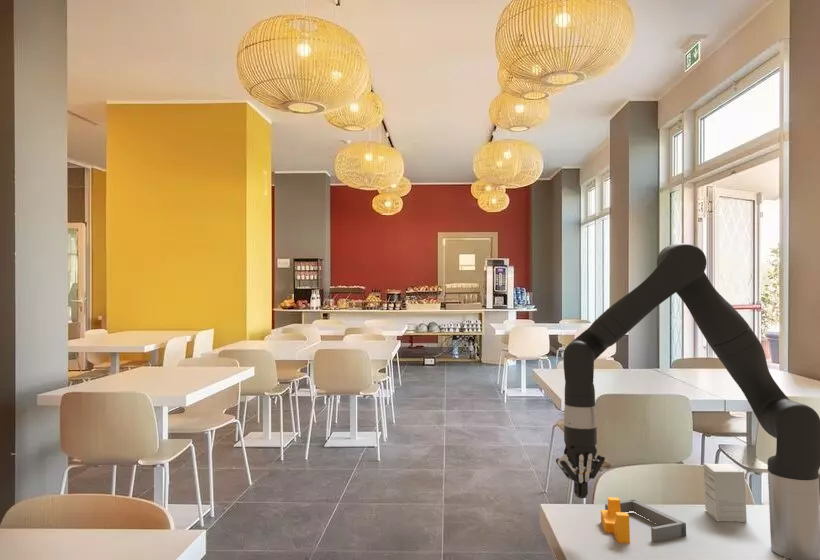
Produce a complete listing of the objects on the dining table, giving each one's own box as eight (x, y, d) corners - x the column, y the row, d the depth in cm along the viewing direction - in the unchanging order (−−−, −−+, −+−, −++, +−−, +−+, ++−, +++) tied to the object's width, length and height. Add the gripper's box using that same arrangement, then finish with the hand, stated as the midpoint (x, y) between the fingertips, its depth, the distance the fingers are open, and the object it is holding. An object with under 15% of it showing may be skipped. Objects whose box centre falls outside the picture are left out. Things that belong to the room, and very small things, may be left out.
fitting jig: (634, 510, 145) (634, 499, 145) (686, 535, 129) (685, 523, 129) (605, 515, 141) (604, 504, 142) (654, 542, 125) (654, 529, 126)
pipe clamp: (601, 522, 138) (600, 496, 138) (619, 523, 137) (618, 497, 137) (610, 543, 126) (609, 514, 126) (629, 544, 125) (629, 515, 125)
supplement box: (734, 511, 143) (732, 463, 144) (747, 522, 136) (745, 471, 137) (704, 510, 144) (702, 462, 145) (716, 521, 137) (714, 470, 138)
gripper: (566, 429, 124) (567, 506, 123) (613, 425, 129) (614, 499, 128) (547, 422, 131) (548, 495, 130) (592, 418, 136) (593, 489, 135)
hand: (581, 497), depth 129 cm, fingers closed
